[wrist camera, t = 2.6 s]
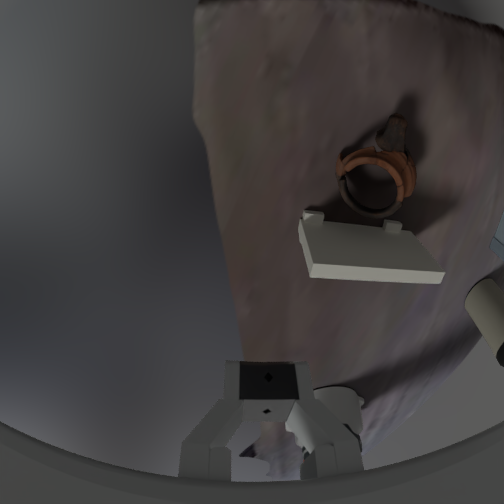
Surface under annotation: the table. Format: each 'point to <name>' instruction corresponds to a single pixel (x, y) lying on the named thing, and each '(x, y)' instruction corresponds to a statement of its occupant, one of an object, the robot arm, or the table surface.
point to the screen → (365, 252)
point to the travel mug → (488, 314)
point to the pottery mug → (391, 159)
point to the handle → (499, 239)
